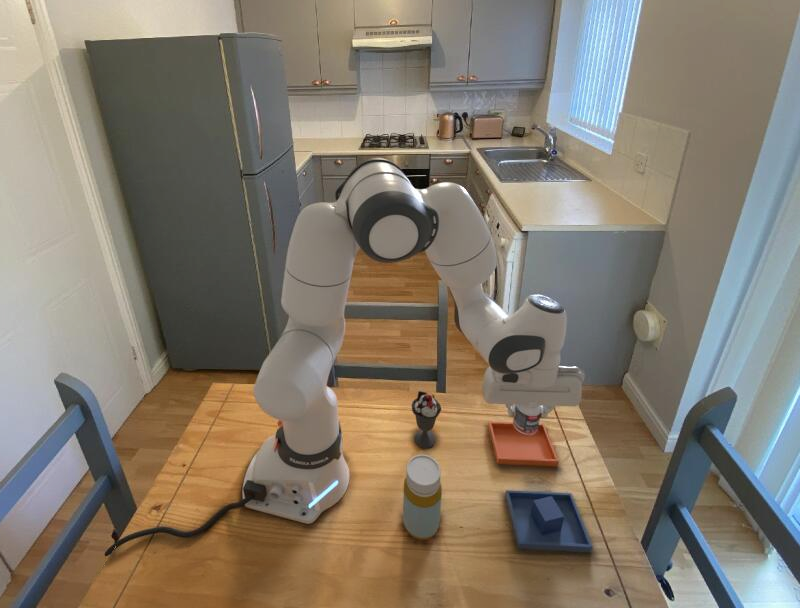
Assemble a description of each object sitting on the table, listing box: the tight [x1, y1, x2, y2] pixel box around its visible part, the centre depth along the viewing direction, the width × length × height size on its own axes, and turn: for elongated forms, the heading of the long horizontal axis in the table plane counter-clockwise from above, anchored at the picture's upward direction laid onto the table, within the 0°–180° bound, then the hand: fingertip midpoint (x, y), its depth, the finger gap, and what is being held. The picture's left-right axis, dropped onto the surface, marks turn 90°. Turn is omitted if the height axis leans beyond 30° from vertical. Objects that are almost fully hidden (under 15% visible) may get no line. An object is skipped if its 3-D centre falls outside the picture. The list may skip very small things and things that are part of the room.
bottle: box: [402, 453, 443, 541], centre depth 79 cm, size 7×7×15 cm
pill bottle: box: [512, 402, 542, 435], centre depth 92 cm, size 5×5×9 cm
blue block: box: [531, 496, 564, 535], centre depth 80 cm, size 4×4×4 cm
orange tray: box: [487, 421, 560, 467], centre depth 96 cm, size 13×10×2 cm
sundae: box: [411, 390, 442, 449], centre depth 96 cm, size 7×7×15 cm
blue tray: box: [504, 489, 593, 554], centre depth 81 cm, size 13×10×2 cm
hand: (526, 415), depth 93 cm, fingers closed on pill bottle, 5 cm apart
